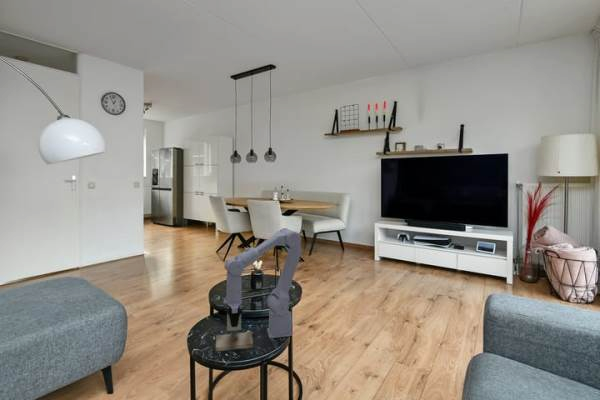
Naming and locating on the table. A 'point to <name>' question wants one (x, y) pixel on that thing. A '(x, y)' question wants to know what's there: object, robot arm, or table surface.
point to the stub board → (234, 341)
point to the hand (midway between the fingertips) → (234, 323)
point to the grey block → (229, 327)
